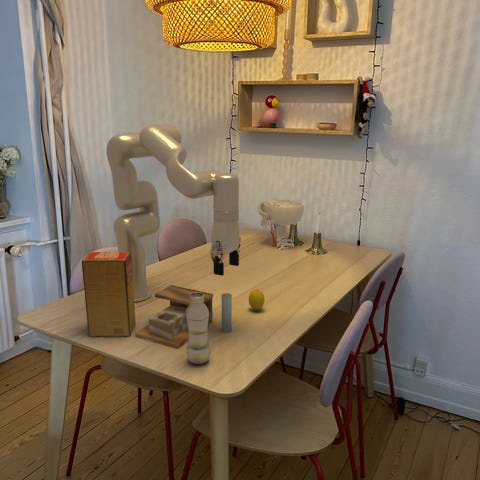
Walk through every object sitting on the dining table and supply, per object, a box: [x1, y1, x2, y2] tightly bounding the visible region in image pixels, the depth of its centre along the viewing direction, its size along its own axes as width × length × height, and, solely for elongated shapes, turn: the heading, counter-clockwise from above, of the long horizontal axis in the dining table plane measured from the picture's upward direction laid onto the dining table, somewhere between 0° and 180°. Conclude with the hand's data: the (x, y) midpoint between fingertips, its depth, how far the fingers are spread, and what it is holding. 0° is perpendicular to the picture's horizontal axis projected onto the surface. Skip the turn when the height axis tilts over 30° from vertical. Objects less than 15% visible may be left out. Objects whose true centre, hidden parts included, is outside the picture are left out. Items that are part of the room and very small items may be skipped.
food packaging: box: [81, 251, 136, 338], centre depth 143 cm, size 13×9×25 cm
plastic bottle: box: [185, 292, 211, 365], centre depth 126 cm, size 6×7×20 cm
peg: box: [220, 292, 233, 333], centre depth 145 cm, size 3×3×12 cm
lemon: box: [248, 288, 266, 311], centre depth 160 cm, size 6×6×8 cm
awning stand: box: [134, 284, 214, 349], centre depth 146 cm, size 20×17×10 cm
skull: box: [257, 198, 305, 251], centre depth 232 cm, size 25×19×23 cm
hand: (226, 269), depth 141 cm, fingers open, 9 cm apart
